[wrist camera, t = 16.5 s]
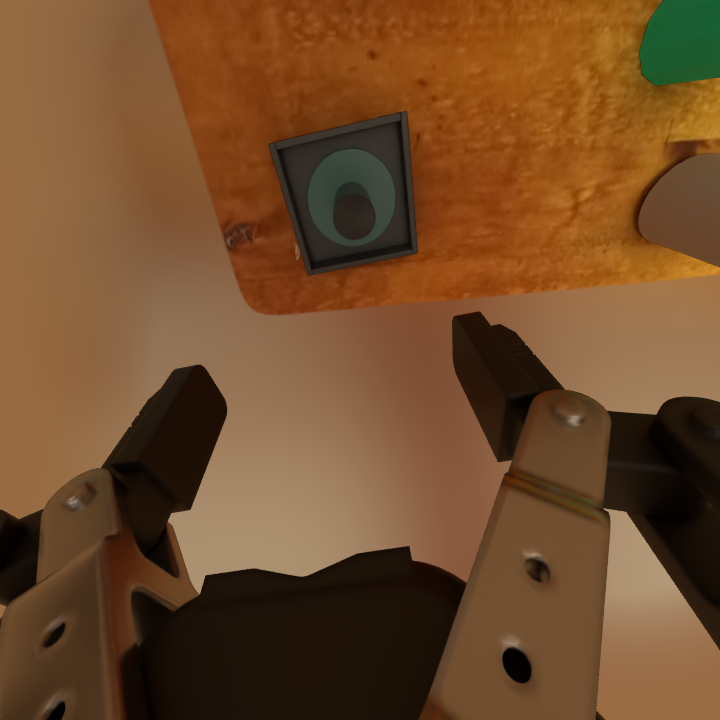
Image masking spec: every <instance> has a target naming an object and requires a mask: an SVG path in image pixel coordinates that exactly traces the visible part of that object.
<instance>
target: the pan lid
mask: <svg viewBox="0 0 720 720" xmlns="http://www.w3.org/2000/svg"><path fill="white" fill-rule="evenodd" d="M307 200H308V208H309V212H310V215H311V218H312V220H313V222H314V224H315V226H316V227H317V229H318V230H319V231H320V232H321V233H322V234H323V235H324V236H325V237H326V238H328V239H329V240H330V241H332V242H334V243H336V244H339V245H342V246H348V247H356V246H362V245H365V244H368V243H370V242H372V241H373V240H375V239H376V238H378V237H379V236H380V235H381V234H382V233H383V232H384V231H385V230H386V228H387V227H388V225H389V223H390V222H391V219H392V217H393V214H394V211H395V206H396V190H395V185H394V182H393V179H392V176H391V174H390V172H389V171H388V169H387V167H386V166H385V165H384V164H383V162H382V161H380V160H379V159H378V158H377V157H376V156H374V155H373V154H371V153H369V152H367V151H365V150H362V149H356V148H346V149H341V150H338V151H335V152H333V153H331V154H330V155H328V156H327V157H325V158H324V159H323V160H322V161H321V162H320V163H319V165H318V166H317V167H316V169H315V171H314V172H313V174H312V177H311V179H310V182H309V186H308V194H307Z"/></svg>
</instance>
